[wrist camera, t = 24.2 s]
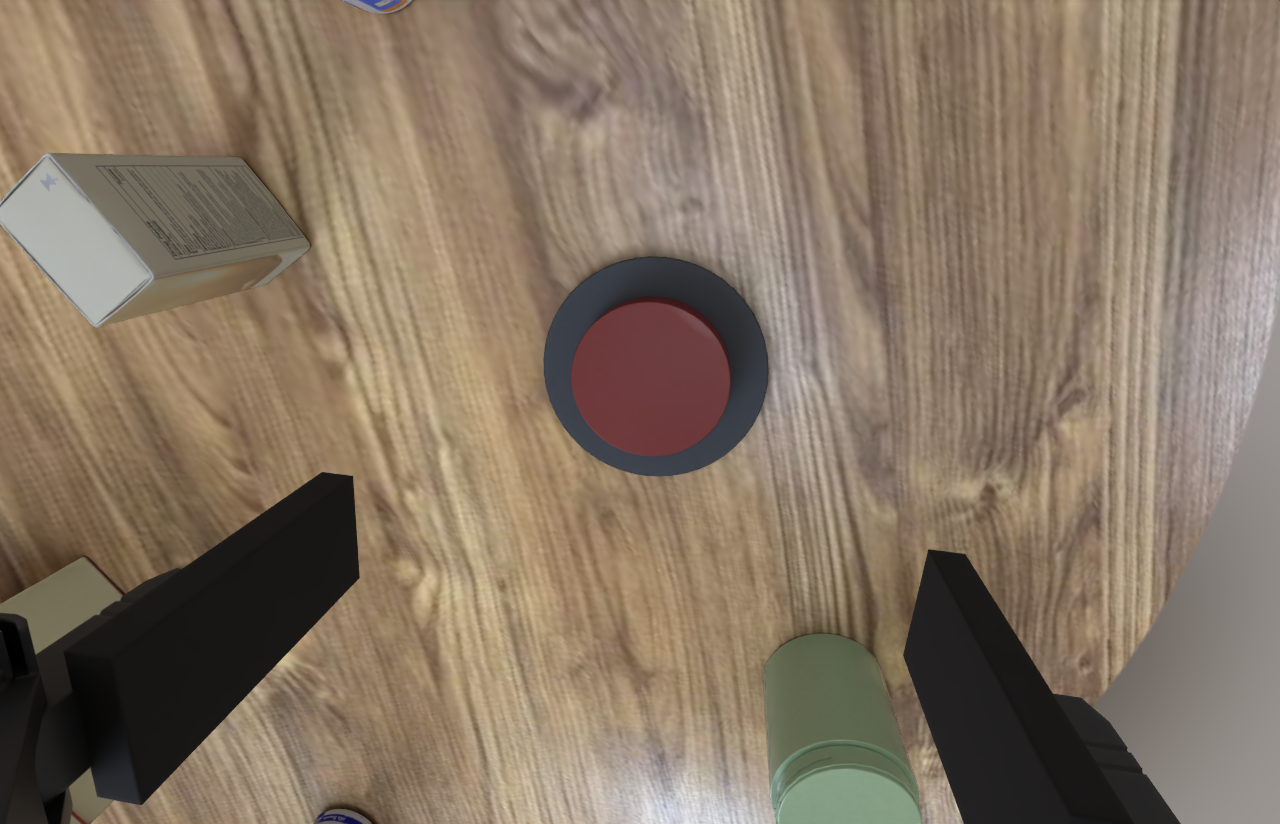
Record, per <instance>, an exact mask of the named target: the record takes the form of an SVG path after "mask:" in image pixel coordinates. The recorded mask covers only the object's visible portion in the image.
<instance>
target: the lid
mask: <svg viewBox="0 0 1280 824" xmlns="http://www.w3.org/2000/svg"><path fill="white" fill-rule="evenodd" d="M571 382H572V390H573V395H574V399H575V401H576V404H577V407H578V409H579V411H580V413H581V415H582V417H583V418H584V420H585V421H586V422H587V424H588V425H589V426H590V427H591V429H592V430H593V431H594V432H595V433H596V434H597V435H599V436H600V437H601V438H602V439H603V440H605V441H606V442H608V443H609V444H611V445H613V446H614V447H616V448H618V449H621V450H623V451H626V452H629V453H632V454H637V455H643V456H664V455H670V454H674V453H678V452H681V451H683V450H686V449H688V448H690V447H692V446H693V445H695V444H697V443H698V442H700V441H701V440H702V439H704V438H705V437H706V436H707V435H708V434H709V433H710V432H711V431H712V430H713V429H714V427H715V426H716V425H717V424H718V422H719V420H720V419H721V417H722V415H723V413H724V411H725V408H726V406H727V403H728V399H729V395H730V387H731V369H730V360H729V355H728V352H727V348H726V346H725V344H724V341H723V339H722V337H721V336H720V334H719V332H718V331H717V329H716V328H715V327H714V326H713V324H712V323H711V322H710V321H709V320H708V319H707V318H706V317H705V316H704V315H703V314H701V313H700V312H699V311H697V310H696V309H694V308H693V307H691V306H689V305H687V304H685V303H682V302H680V301H677V300H674V299H670V298H665V297H656V296H652V297H640V298H634V299H631V300H628V301H624V302H622V303H620V304H618V305H616V306H614V307H613V308H611V309H609V310H608V311H607V312H605V313H604V314H603V315H602V316H601V317H599V318H598V320H597V321H596V322H595V323H594V324H593V325H592V326H591V327H590V328H589V329H588V330H587V332H586V333H585V335H584V336H583V338H582V339H581V341H580V343H579V345H578V347H577V349H576V352H575V355H574V358H573V364H572V372H571Z"/></svg>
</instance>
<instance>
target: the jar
mask: <svg viewBox="0 0 1280 824" xmlns="http://www.w3.org/2000/svg"><path fill="white" fill-rule="evenodd" d="M763 696H764V711H765V726H766V740H767V755H768V770H769V785H770V800H771V804H772V807H773V810H774V812H775V817H776V823H777V824H922V812H921V806H920V804H919V789H918V785H917V782H916V779H915V776H914V772H913V769H912V766H911V763H910V760H909V756H908V753H907V750H906V747H905V744H904V740H903V737H902V734H901V731H900V728H899V724H898V721H897V718H896V715H895V712H894V708H893V705H892V702H891V699H890V696H889V692H888V689H887V686H886V683H885V680H884V676H883V673H882V670H881V667H880V665H879V664H878V662H877V660H876V659H875V657H874V656H873V655H872V654H871V653H870V652H869V651H868V650H867V649H866V648H865V647H863V646H862V645H860V644H859V643H857V642H855V641H853V640H851V639H849V638H846V637H843V636H839V635H834V634H825V633H820V634H809V635H805V636H801V637H798V638H795V639H793V640H791V641H789V642H787V643H785V644H784V645H782V646H781V647H780V648H779V649H778V650H776V651H775V652H774V654H773V655H772V656H771V657H770V659H769V661H768V662H767V664H766V667H765V669H764V673H763Z"/></svg>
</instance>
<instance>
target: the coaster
mask: <svg viewBox="0 0 1280 824" xmlns="http://www.w3.org/2000/svg"><path fill="white" fill-rule="evenodd" d="M652 296H656V297H665V298H670V299H674V300H677V301H680V302H682V303H685V304H687V305H689V306H691V307H693V308H694V309H696V310H697V311H699V312H700V313H701V314H703V315H704V316H705V317H706V318H707V319H708V320H709V321H710V322H711V323H712V324H713V326H714V327H715V328H716V329H717V331H718V332H719V334H720V336H721V337H722V339H723V341H724V344H725V346H726V348H727V352H728V355H729V360H730V369H731V387H730V395H729V399H728V403H727V406H726V408H725V411H724V413H723V415H722V417H721V419H720V420H719V422H718V424H717V425H716V426H715V427H714V429H713V430H712V431H711V432H710V433H709V434H708V435H707V436H706V437H705V438H704V439H702V440H701V441H700V442H698V443H697V444H695V445H693V446H692V447H690V448H688V449H686V450H683V451H681V452H678V453H674V454H670V455H664V456H643V455H637V454H632V453H629V452H626V451H623V450H621V449H618V448H616V447H614V446H613V445H611V444H609V443H608V442H606V441H605V440H603V439H602V438H601V437H600V436H599V435H597V434H596V433H595V432H594V431H593V430H592V429H591V427H590V426H589V425H588V424H587V422H586V421H585V420H584V418H583V417H582V415H581V413H580V411H579V409H578V407H577V404H576V401H575V399H574V395H573V390H572V382H571V372H572V364H573V358H574V355H575V352H576V349H577V347H578V345H579V343H580V341H581V339H582V338H583V336H584V335H585V333H586V332H587V330H588V329H589V328H590V327H591V326H592V325H593V324H594V323H595V322H596V321H597V320H598V318H599V317H601V316H602V315H603V314H604V313H605V312H607V311H608V310H609V309H611V308H613V307H614V306H616V305H618V304H620V303H622V302H624V301H628V300H631V299H634V298H640V297H652ZM544 377H545V383H546V389H547V392H548V395H549V399H550V402H551V404H552V406H553V409H554V411H555V413H556V415H557V417H558V418H559V420H560V422H561V423H562V425H563V427H564V428H565V429H566V430H567V432H568V433H569V434H570V436H571V437H572V438H573V439H574V440H575V441H576V442H577V443H578V444H579V445H580V446H581V447H582V448H584V449H585V450H586V451H587V452H589V453H590V454H591V455H592V456H594V457H596V458H597V459H599V460H601V461H602V462H604V463H606V464H608V465H610V466H613V467H615V468H617V469H620V470H623V471H626V472H630V473H634V474H640V475H646V476H672V475H678V474H684V473H688V472H691V471H694V470H697V469H700V468H702V467H705V466H707V465H709V464H711V463H713V462H715V461H716V460H718V459H720V458H721V457H723V456H724V455H725V454H727V453H728V452H729V451H730V450H732V449H733V448H734V447H735V446H736V445H737V444H738V443H739V442H740V441H741V440H742V439H743V438H744V437H745V435H746V434H747V432H748V431H749V430H750V428H751V427H752V425H753V424H754V422H755V420H756V418H757V416H758V414H759V412H760V409H761V407H762V404H763V401H764V398H765V394H766V389H767V383H768V355H767V350H766V345H765V340H764V337H763V334H762V332H761V329H760V326H759V324H758V322H757V320H756V318H755V316H754V314H753V312H752V311H751V309H750V308H749V306H748V305H747V303H746V302H745V300H744V299H743V298H742V297H741V296H740V295H739V294H738V293H737V291H736V290H735V289H734V288H733V287H731V286H730V285H729V284H728V283H727V282H725V281H724V280H723V279H722V278H720V277H719V276H717V275H715V274H714V273H712V272H711V271H709V270H707V269H705V268H703V267H700V266H698V265H696V264H693V263H690V262H687V261H683V260H680V259H674V258H668V257H641V258H633V259H629V260H625V261H621V262H618V263H616V264H613V265H611V266H608V267H606V268H604V269H602V270H600V271H599V272H597V273H595V274H593V275H592V276H590V277H589V278H588V279H586V280H585V281H584V282H582V283H581V284H580V285H579V286H578V287H577V288H576V289H575V290H574V291H573V292H572V293H571V294H570V295H569V296H568V297H567V299H566V300H565V301H564V303H563V304H562V305H561V307H560V309H559V310H558V312H557V314H556V316H555V318H554V319H553V322H552V325H551V327H550V330H549V332H548V336H547V340H546V345H545V352H544Z"/></svg>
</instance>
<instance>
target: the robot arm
mask: <svg viewBox="0 0 1280 824" xmlns="http://www.w3.org/2000/svg"><path fill="white" fill-rule="evenodd" d="M359 578H360V577H359V561H358V546H357V531H356V515H355V500H354V485H353V476H349V475H341V474H333V473H325V472H322V473H320V474H319V475H317V476H316V477H314V478H313V479H312V480H310V481H309V482H307V483H306V484H304V485H303V486H301V487H300V488H299V489H297V490H296V491H294V492H293V493H291V494H290V495H288V496H287V497H286V498H284V499H283V500H281V501H280V502H278V503H277V504H275V505H274V506H273V507H271V508H270V509H268V510H267V511H265V512H264V513H262V514H261V515H260V516H258V517H257V518H255V519H254V520H252V521H251V522H249V523H248V524H247V525H245V526H244V527H242V528H241V529H239V530H238V531H236V532H235V533H234V534H232V535H231V536H229V537H228V538H226V539H225V540H223V541H222V542H221V543H219V544H218V545H216V546H215V547H213V548H212V549H210V550H209V551H208V552H206V553H205V554H203V555H202V556H200V557H199V558H197V559H196V560H195V561H193V562H192V563H190V564H189V565H187V566H186V567H184V568H183V569H178V568H176V569H173V570H171V571H169V572H166V573H164V574H161V575H159V576H157V577H154V578H152V579H149V580H147V581H145V582H143V583H142V584H140V585H139V586H137V587H136V588H134V589H133V590H131V591H130V592H128V593H127V594H125V595H124V596H122V597H121V600H120V601H115V602H113V603H112V604H110V605H109V606H107V607H106V608H104V609H103V610H101V613H100V614H99V615H94V616H93V617H91V618H90V619H88V620H87V621H85V622H84V623H82V624H81V625H79V626H78V627H76V628H75V629H73V630H72V631H70V632H69V633H67V634H66V635H64V636H63V637H61V638H60V639H58V640H57V641H55V642H54V643H52V644H51V645H49V646H48V647H46V648H45V649H43V650H42V651H40V652H39V653H37V654H35V650H34V646H33V642H32V638H31V634H30V630H29V626H28V622H27V619H26V618H24V617H22V616H20V615H18V614H10V613H0V824H70V821H71V814H72V807H73V803H72V798H71V794H70V790H69V786H70V785H71V784H73V783H74V782H75V781H76V780H77V779H78V778H79V777H80V776H81V775H83V774H84V773H85V772H86V771H87V770H88V769H89V768H91V772H92V777H93V781H94V785H95V790H96V794H97V797H100V798H106V799H111V800H117V801H122V802H128V803H133V804H139V805H142V804H143V803H144V802H145V801H146V800H147V799H148V798H149V797H150V796H151V795H152V794H153V793H154V792H155V791H156V790H157V789H158V788H159V786H160V785H161V784H162V783H163V782H164V781H165V780H166V779H167V778H168V777H169V776H170V775H171V774H172V773H173V772H174V771H175V770H176V769H177V768H178V767H179V766H180V765H181V764H182V762H183V761H184V760H185V759H186V758H187V757H188V756H189V755H190V754H191V753H192V752H193V751H194V750H195V749H196V748H197V747H198V746H199V745H200V744H201V743H202V742H203V741H204V740H205V739H206V737H207V736H208V735H209V734H210V733H211V732H212V731H213V730H214V729H215V728H216V727H217V726H218V725H219V724H220V723H221V722H222V721H223V720H224V719H225V718H226V717H227V716H228V715H229V713H230V712H231V711H232V710H233V709H234V708H235V707H236V706H237V705H238V704H239V703H240V702H241V701H242V700H243V699H244V698H245V697H246V696H247V695H248V694H249V693H250V692H251V691H252V689H253V688H254V687H255V686H256V685H257V684H258V683H259V682H260V681H261V680H262V679H263V678H264V677H265V676H266V675H267V674H268V673H269V672H270V671H271V670H272V669H273V668H274V667H275V665H276V664H277V663H278V662H279V661H280V660H281V659H282V658H283V657H284V656H285V655H286V654H287V653H288V652H289V651H290V650H291V649H292V648H293V647H294V646H295V645H296V644H297V643H298V641H299V640H300V639H301V638H302V637H303V636H304V635H305V634H306V633H307V632H308V631H309V630H310V629H311V628H312V627H313V626H314V625H315V624H316V623H317V622H318V621H319V620H320V619H321V617H322V616H323V615H324V614H325V613H326V612H327V611H328V610H329V609H330V608H331V607H332V606H333V605H334V604H335V603H336V602H337V601H338V600H339V599H340V598H341V597H342V596H343V595H344V593H345V592H346V591H347V590H348V589H349V588H350V587H351V586H352V585H353V584H354V583H355V582H356V581H357V580H358V579H359ZM903 656H904V659H905V662H906V664H907V667H908V670H909V673H910V676H911V678H912V681H913V684H914V687H915V689H916V692H917V695H918V698H919V700H920V703H921V706H922V709H923V712H924V714H925V717H926V720H927V723H928V725H929V728H930V731H931V734H932V737H933V739H934V742H935V745H936V748H937V750H938V753H939V756H940V759H941V762H942V764H943V767H944V770H945V773H946V775H947V778H948V781H949V784H950V786H951V789H952V792H953V795H954V798H955V800H956V803H957V806H958V809H959V811H960V814H961V817H962V820H963V823H964V824H1180V822H1179V821H1178V819H1177V818H1176V816H1175V815H1174V814H1173V812H1172V811H1171V809H1170V808H1169V806H1168V805H1167V804H1166V802H1165V801H1164V799H1163V798H1162V796H1161V795H1160V794H1159V792H1158V791H1157V789H1156V788H1155V786H1154V785H1153V784H1152V782H1151V781H1150V780H1149V778H1148V777H1147V775H1144V774H1143V773H1142V768H1141V767H1140V765H1139V764H1138V762H1137V761H1136V759H1135V758H1134V757H1133V755H1132V754H1131V753H1129V752H1127V747H1126V745H1125V744H1124V742H1123V741H1122V739H1121V738H1120V737H1119V735H1118V734H1117V732H1116V731H1115V729H1114V728H1113V727H1112V725H1111V724H1110V722H1109V721H1107V720H1106V719H1105V718H1104V717H1103V716H1102V715H1101V714H1099V713H1098V712H1097V711H1096V710H1095V709H1094V708H1092V707H1091V706H1090V705H1089V704H1088V703H1086V702H1085V701H1084V700H1083V699H1082V698H1079V697H1072V696H1065V695H1058V694H1053V693H1052V691H1051V690H1050V688H1049V687H1048V685H1047V684H1046V682H1045V680H1044V679H1043V677H1042V676H1041V674H1040V672H1039V671H1038V669H1037V668H1036V666H1035V664H1034V663H1033V661H1032V660H1031V658H1030V656H1029V655H1028V653H1027V652H1026V650H1025V649H1024V647H1023V645H1022V644H1021V642H1020V641H1019V639H1018V637H1017V636H1016V634H1015V633H1014V631H1013V629H1012V628H1011V626H1010V625H1009V623H1008V621H1007V620H1006V618H1005V617H1004V615H1003V614H1002V612H1001V610H1000V609H999V607H998V606H997V604H996V602H995V601H994V599H993V598H992V596H991V594H990V593H989V591H988V590H987V588H986V586H985V585H984V583H983V582H982V580H981V579H980V577H979V575H978V574H977V572H976V571H975V569H974V567H973V566H972V564H971V563H970V561H969V559H968V558H967V556H966V555H965V554H961V553H953V552H945V551H937V550H929V549H928V553H927V557H926V562H925V566H924V570H923V574H922V579H921V583H920V587H919V591H918V595H917V600H916V604H915V608H914V612H913V616H912V621H911V625H910V629H909V633H908V638H907V642H906V646H905V650H904V654H903Z"/></svg>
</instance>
